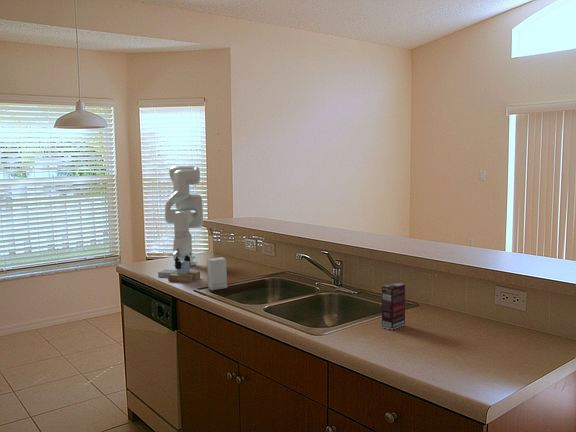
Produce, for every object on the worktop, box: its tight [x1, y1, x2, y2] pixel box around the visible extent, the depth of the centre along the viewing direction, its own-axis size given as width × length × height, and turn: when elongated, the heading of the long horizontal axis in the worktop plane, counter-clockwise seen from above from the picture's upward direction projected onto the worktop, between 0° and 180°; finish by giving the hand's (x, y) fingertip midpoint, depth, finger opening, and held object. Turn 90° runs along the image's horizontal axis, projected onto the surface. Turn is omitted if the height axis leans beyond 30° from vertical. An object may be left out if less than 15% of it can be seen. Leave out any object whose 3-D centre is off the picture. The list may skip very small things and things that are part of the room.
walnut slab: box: [167, 270, 201, 284], centre depth 277 cm, size 12×12×4 cm
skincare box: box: [206, 256, 228, 291], centre depth 257 cm, size 8×6×15 cm
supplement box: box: [381, 282, 406, 331], centre depth 194 cm, size 9×5×16 cm, turn 133°
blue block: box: [176, 261, 191, 274], centre depth 277 cm, size 5×5×6 cm
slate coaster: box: [157, 269, 177, 278], centre depth 287 cm, size 8×8×3 cm
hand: (182, 267), depth 277 cm, fingers open, 9 cm apart
